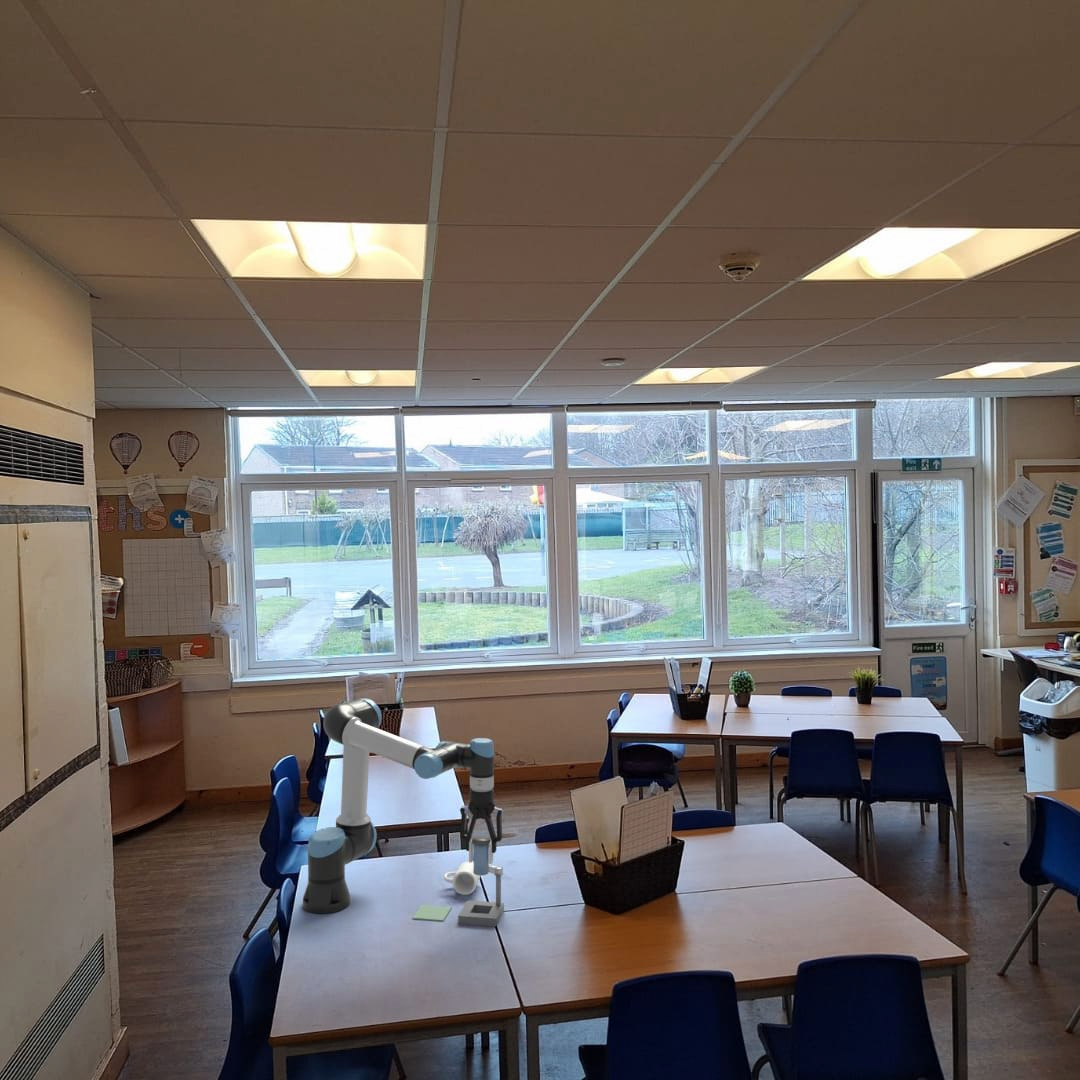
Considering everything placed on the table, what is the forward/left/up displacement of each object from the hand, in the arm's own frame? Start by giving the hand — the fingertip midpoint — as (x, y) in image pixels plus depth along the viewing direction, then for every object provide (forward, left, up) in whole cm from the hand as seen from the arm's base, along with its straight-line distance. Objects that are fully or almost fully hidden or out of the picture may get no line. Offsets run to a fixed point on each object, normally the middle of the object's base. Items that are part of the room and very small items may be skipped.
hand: (481, 861), depth 287 cm
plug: (0, 0, -3) cm, 3 cm away
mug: (-12, +21, -18) cm, 30 cm away
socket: (0, 0, -18) cm, 18 cm away
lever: (+1, +7, -5) cm, 8 cm away
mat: (-16, 0, -17) cm, 24 cm away
